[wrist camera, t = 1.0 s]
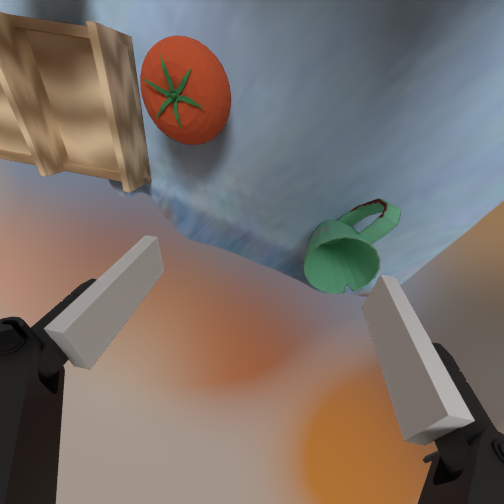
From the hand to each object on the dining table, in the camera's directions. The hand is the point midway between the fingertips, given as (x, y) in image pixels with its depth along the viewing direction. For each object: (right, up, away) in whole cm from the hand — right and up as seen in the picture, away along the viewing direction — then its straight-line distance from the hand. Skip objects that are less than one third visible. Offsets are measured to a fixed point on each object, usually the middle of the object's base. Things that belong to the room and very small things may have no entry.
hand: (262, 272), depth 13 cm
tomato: (-7, +22, +16) cm, 29 cm away
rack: (-31, +24, +20) cm, 43 cm away
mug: (+14, +6, +23) cm, 28 cm away
